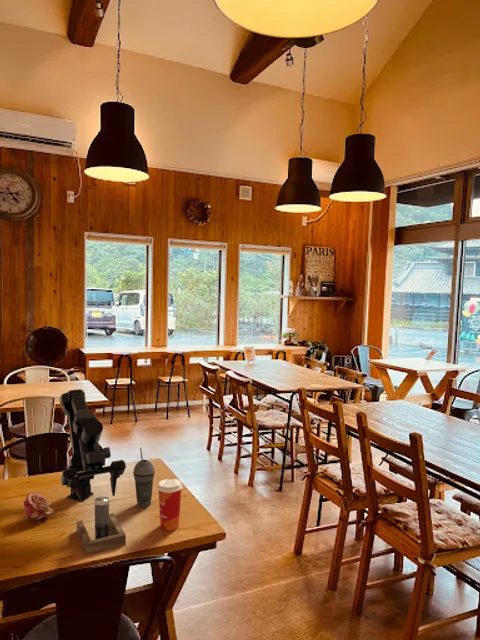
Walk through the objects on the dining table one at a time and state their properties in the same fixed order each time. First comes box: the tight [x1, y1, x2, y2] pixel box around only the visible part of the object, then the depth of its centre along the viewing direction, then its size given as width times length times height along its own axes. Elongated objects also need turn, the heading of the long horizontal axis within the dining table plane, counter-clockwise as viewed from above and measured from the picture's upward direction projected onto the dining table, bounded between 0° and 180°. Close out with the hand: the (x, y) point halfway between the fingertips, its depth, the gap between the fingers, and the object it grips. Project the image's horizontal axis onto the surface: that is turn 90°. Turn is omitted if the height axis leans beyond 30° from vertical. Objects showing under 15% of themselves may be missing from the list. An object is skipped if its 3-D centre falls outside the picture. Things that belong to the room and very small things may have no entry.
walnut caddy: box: [76, 513, 127, 556], centre depth 142 cm, size 14×11×3 cm
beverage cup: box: [132, 447, 156, 509], centre depth 162 cm, size 7×7×20 cm
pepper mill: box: [94, 495, 110, 540], centre depth 140 cm, size 4×4×12 cm
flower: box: [23, 492, 54, 522], centre depth 153 cm, size 10×9×8 cm
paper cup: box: [157, 478, 183, 532], centre depth 148 cm, size 8×8×14 cm
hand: (98, 498), depth 143 cm, fingers open, 9 cm apart
